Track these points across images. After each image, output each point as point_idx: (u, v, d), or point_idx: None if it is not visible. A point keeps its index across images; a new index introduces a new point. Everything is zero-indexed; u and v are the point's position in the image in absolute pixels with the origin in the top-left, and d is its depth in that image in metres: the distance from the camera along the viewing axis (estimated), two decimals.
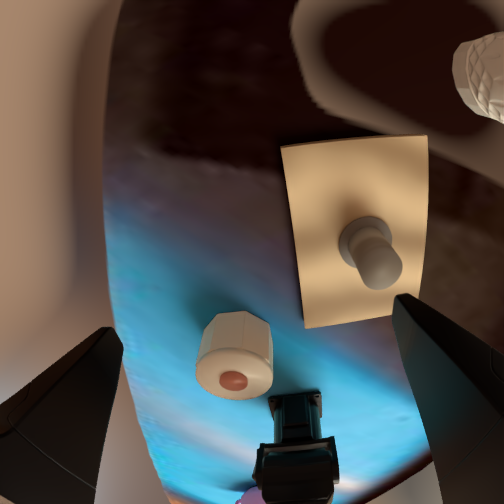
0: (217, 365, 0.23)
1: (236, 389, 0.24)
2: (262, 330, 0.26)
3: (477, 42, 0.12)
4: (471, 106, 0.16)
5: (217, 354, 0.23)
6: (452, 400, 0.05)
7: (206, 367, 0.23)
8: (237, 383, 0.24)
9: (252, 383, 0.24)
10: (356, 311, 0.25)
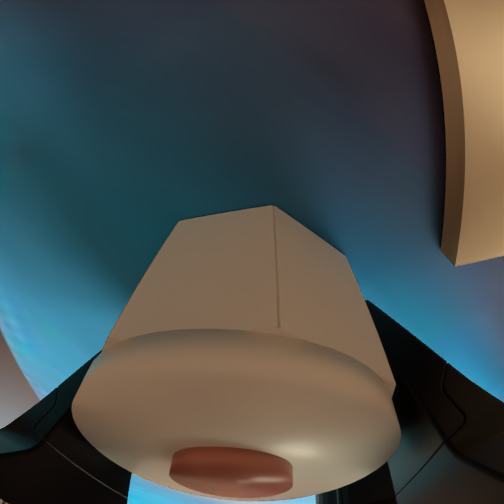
0: (147, 420, 0.04)
1: (241, 495, 0.05)
2: (338, 269, 0.07)
3: None
4: None
5: (131, 367, 0.03)
6: (401, 416, 0.05)
7: (104, 420, 0.04)
8: (246, 486, 0.04)
9: (308, 475, 0.05)
10: None
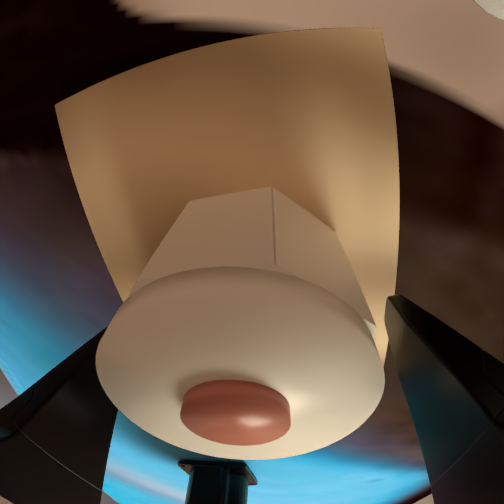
0: (165, 353, 0.05)
1: (244, 441, 0.06)
2: (327, 239, 0.08)
3: None
4: None
5: (158, 296, 0.05)
6: (442, 403, 0.05)
7: (125, 360, 0.05)
8: (249, 426, 0.06)
9: (304, 420, 0.06)
10: None
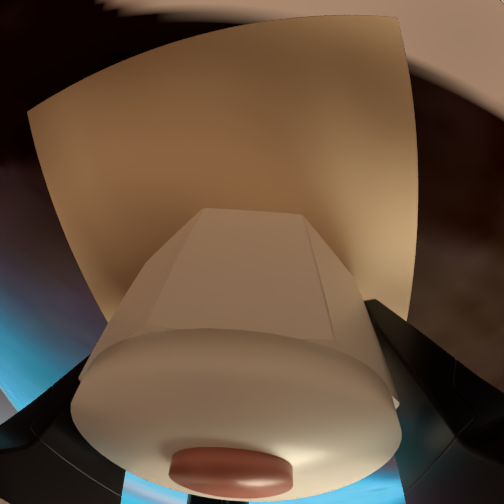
0: (288, 428, 0.04)
1: (200, 489, 0.05)
2: None
3: None
4: None
5: (370, 396, 0.04)
6: (411, 413, 0.05)
7: (229, 405, 0.03)
8: (237, 489, 0.05)
9: None
10: None
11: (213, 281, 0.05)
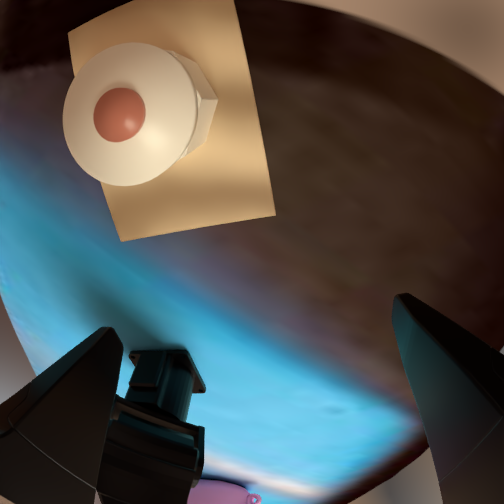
0: (168, 102, 0.11)
1: (98, 112, 0.10)
2: None
3: None
4: None
5: (194, 115, 0.11)
6: (452, 400, 0.05)
7: (170, 79, 0.10)
8: (113, 121, 0.11)
9: (100, 143, 0.12)
10: (176, 214, 0.19)
11: (188, 67, 0.12)
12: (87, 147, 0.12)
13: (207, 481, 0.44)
